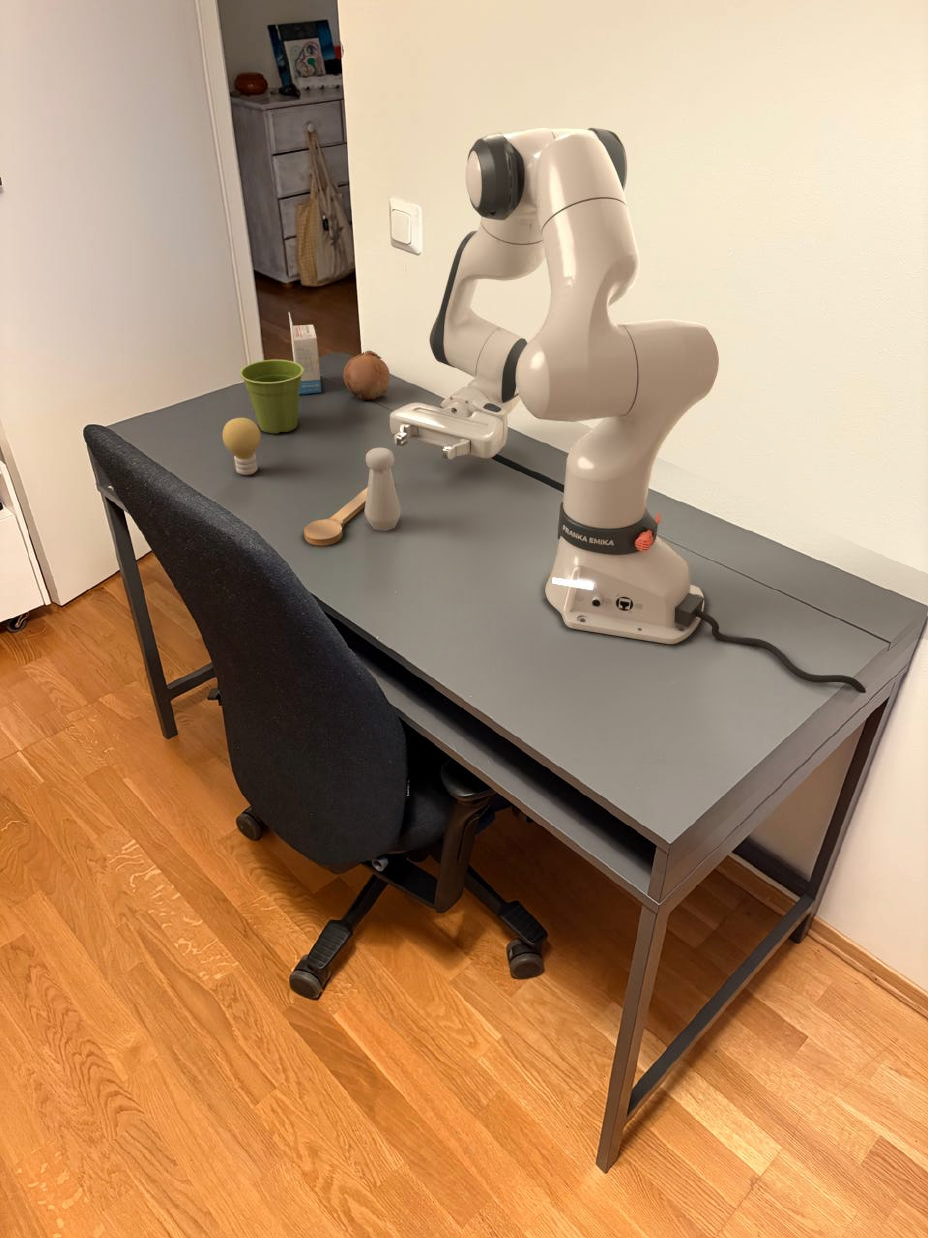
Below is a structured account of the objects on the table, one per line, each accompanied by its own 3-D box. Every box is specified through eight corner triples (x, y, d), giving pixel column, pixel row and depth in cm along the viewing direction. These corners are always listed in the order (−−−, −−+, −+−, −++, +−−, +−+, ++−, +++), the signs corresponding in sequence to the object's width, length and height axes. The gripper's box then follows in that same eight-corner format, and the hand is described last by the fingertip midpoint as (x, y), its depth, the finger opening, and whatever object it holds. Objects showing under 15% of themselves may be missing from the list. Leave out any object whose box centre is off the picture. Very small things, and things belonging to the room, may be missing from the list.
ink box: (322, 392, 190) (315, 322, 181) (298, 395, 189) (290, 324, 180) (318, 377, 196) (311, 308, 188) (295, 379, 196) (287, 310, 187)
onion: (371, 402, 193) (377, 353, 191) (395, 404, 186) (401, 354, 184) (332, 396, 187) (337, 346, 185) (355, 398, 180) (361, 346, 178)
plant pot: (304, 440, 172) (298, 383, 165) (242, 439, 172) (233, 382, 166) (314, 413, 182) (308, 358, 175) (254, 413, 182) (246, 358, 175)
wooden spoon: (369, 480, 159) (368, 474, 159) (399, 487, 157) (398, 481, 157) (297, 540, 144) (296, 533, 143) (329, 549, 142) (328, 542, 141)
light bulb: (268, 476, 160) (261, 424, 154) (232, 483, 159) (223, 430, 153) (261, 461, 165) (253, 409, 159) (226, 467, 163) (217, 415, 157)
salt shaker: (396, 535, 145) (392, 461, 137) (361, 531, 146) (355, 458, 138) (405, 517, 149) (402, 444, 141) (371, 513, 150) (366, 441, 142)
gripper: (413, 387, 162) (368, 416, 153) (515, 412, 154) (474, 444, 145) (414, 420, 166) (371, 450, 157) (514, 446, 158) (474, 479, 148)
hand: (421, 447), depth 150 cm, fingers open, 8 cm apart
